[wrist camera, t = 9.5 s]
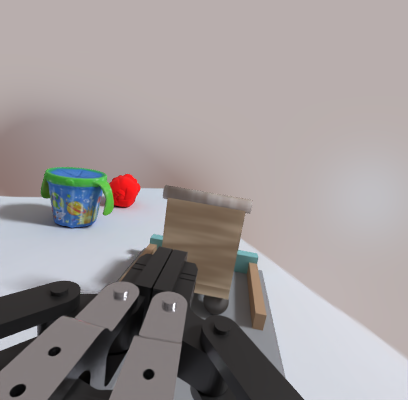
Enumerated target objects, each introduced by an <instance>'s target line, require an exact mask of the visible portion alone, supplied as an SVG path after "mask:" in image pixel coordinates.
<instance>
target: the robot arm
mask: <svg viewBox="0 0 408 400" xmlns="http://www.w3.org/2000/svg"><path fill="white" fill-rule="evenodd" d="M187 255H188V252H185V251H181V250H176V249H174V250H173V249H171V248H166V247H161V246H159V247H158V248H157V250H156V251H155V253H154V254H153V255H152V254H148V253H147V254H145V255H143V256H141V257H139V258H138V259H137V261H136V262H135V264H134V265H133V266H132V267H131V268H130V270H129V271H128V272H127V274H126V275H125V276H124V277H123V279H122V280H121V281H120V282H115V283H112V284H109V285H108V286H106V287H105V288H104V289H103V290H102V291H101V292H100V293H99V294H80V287H79V285H78V284H76V283H74V282H71V281H57V282H53V283H49V284H46V285H42V286H38V287H35V288H31V289H28V290H24V291H20V292H17V293H13V294H9V295H6V296H2V297H0V339H2V338H4V337H7V336H10V335H13V334H15V333H18V332H21V331H23V330H26V329H29V328H32V327H34V326H37V337H35V338H32V339H30V340H27V341H25V342H22V343H19V344H17V345H14V346H12V347H9V348H7V349H4V350H2V351H0V400H173V399H174V392H175V386H176V379H177V377H178V378H180V379H181V380H183V381H184V382H186V383H188V384H189V385H190V391H191V395H192V397H193V399H194V400H304V399H303V398H302V397H301V395H300V394H299V393H298V392H297V391H296V390H295V389H294V388H293V386H292V385H291V384H290V383H289V382H288V381H287V380H286V379H285V377H284V376H283V375H282V374H281V373H280V372H279V371H278V370H277V368H276V367H275V366H274V365H273V364H272V363H271V362H270V361H269V359H268V358H267V357H266V356H265V355H264V354H263V353H262V352H261V350H260V349H259V348H258V347H257V346H256V345H255V344H254V343H253V341H252V340H251V339H250V338H249V337H248V336H247V335H246V334H245V332H244V331H243V330H242V329H241V328H240V327H239V326H238V325H237V323H235V322H234V321H233V320H232V319H230V318H228V317H225V316H222V315H212V316H209V317H207V318H206V319H205V320H204V319H202V318H200V317H199V316H197V315H196V314H195V313H194V312H193V311H192V310H191V308H190V307H191V303H192V299H193V295H194V290H195V284H196V278H197V273H198V268H197V266H196V264H195V263H191V262H187ZM116 380H117V381H116ZM115 381H116V383H115ZM114 383H115V386H114V388H113V390H111V388H112V387H113V385H114Z"/></svg>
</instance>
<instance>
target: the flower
mask: <svg viewBox="0 0 408 400" xmlns="http://www.w3.org/2000/svg"><path fill="white" fill-rule="evenodd" d="M109 185H110V187H111V189H112V193H113V200H114V205H115V206H120V207H129V206H131V205H132V204H133V203H134V202H135V198H136V196H137V195H138V192H139V191H140V185H139V184H138V183H137V180H136V179H134V178H133V177H132V175H130V174H125V175H124V176H121V175H120V176H118V177H116V178H113V180H112V182H110V183H109Z"/></svg>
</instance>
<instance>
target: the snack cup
mask: <svg viewBox="0 0 408 400" xmlns="http://www.w3.org/2000/svg"><path fill="white" fill-rule="evenodd" d="M102 193H104V195H105V197H106V203H105V207H104V212H103V215H108V214H110V213H111V212H112V210H113V208H114V200H113V193H112V189H111V187H110V185H109V183H108V182H107V175H106V174H105V173H103V172H100V171H96V170H90V169H84V168H73V167H57V168H50V169H47V170H46V172H45V174H44V179H43V183H42V187H41V195H42V197H43V198H50V199H51V205H52V212H53V217H54V221H55V223H56V224H59V225H62V226H68V227H70V228H74V227H85V226H90V225H92V224H93V223H94V222H95V221H96V218H97V215H98V211H99V206H100V202H101V197H102Z"/></svg>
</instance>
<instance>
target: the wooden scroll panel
mask: <svg viewBox="0 0 408 400" xmlns="http://www.w3.org/2000/svg"><path fill="white" fill-rule="evenodd" d="M163 198H164V199H168V200H167V208H166V217H165V225H164V233H163V242H162V247H166V248H171V249H173V250H174V249H176V250H181V251H185V252H188V255H187V262H191V263H195V264H196V266H197V268H198V273H197V278H196V284H195V290H194V293H198V294H203V295H204V298H203V304H204V307H205V309H206V310H207V311H208V312H209V313H211V314H213V315H219V314H222V313H223V312H225V311H226V309H227V307H228V305H229V298H228V297H229V292H230V287H231V282H232V277H233V272H234V267H235V262H236V257H237V252H238V247H239V242H240V237H241V232H242V227H243V222H244V216H245V213H249V214H250V212H251V208H252V200H249V199H243V198H237V197H232V196H226V195H220V194H214V193H208V192H203V191H196V190H190V189H185V188H179V187H173V186H168V185H166V186H165V188H164V191H163Z"/></svg>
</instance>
